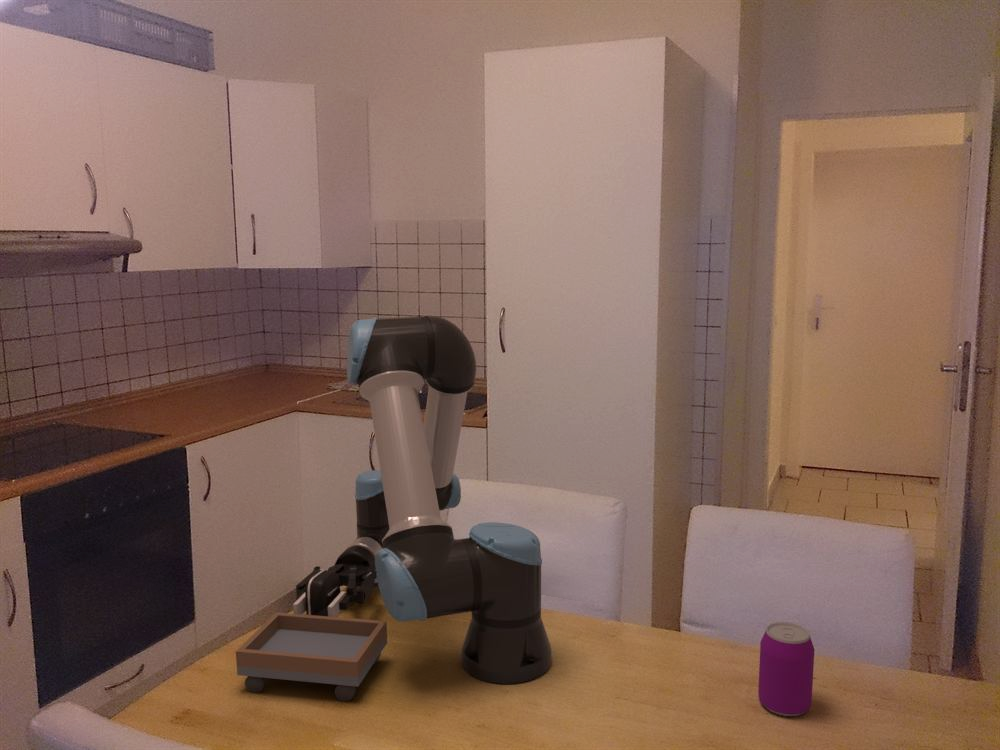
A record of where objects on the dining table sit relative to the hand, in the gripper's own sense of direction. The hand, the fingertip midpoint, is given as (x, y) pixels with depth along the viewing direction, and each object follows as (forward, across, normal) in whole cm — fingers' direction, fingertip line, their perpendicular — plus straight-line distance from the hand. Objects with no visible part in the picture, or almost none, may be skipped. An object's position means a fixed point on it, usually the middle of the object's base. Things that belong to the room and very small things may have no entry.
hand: (312, 612), depth 145 cm
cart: (+9, -4, -6) cm, 12 cm away
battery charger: (-5, 0, -7) cm, 8 cm away
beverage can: (+5, -78, -7) cm, 78 cm away
